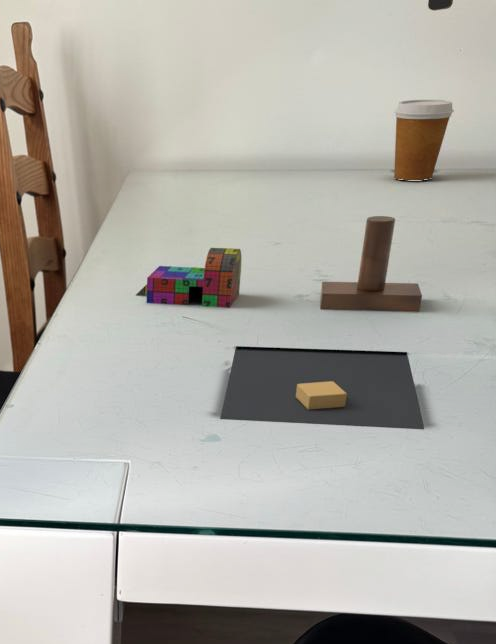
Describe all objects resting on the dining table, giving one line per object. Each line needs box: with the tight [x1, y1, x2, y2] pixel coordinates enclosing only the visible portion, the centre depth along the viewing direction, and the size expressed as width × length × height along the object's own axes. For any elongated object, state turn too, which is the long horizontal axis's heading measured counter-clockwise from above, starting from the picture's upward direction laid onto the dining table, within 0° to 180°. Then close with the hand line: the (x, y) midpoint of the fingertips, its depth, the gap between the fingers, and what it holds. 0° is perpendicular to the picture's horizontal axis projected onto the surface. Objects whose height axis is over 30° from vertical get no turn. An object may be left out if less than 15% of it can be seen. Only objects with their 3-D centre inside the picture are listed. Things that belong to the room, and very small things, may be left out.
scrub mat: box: [219, 345, 425, 430], centre depth 90 cm, size 16×21×1 cm
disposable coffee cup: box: [393, 99, 454, 180], centre depth 173 cm, size 10×10×12 cm
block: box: [135, 247, 242, 309], centre depth 113 cm, size 12×8×7 cm
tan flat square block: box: [296, 381, 347, 410], centre depth 85 cm, size 3×3×1 cm
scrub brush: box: [319, 215, 423, 313], centre depth 106 cm, size 10×5×10 cm, turn 76°
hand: (428, 3), depth 98 cm, fingers open, 8 cm apart
